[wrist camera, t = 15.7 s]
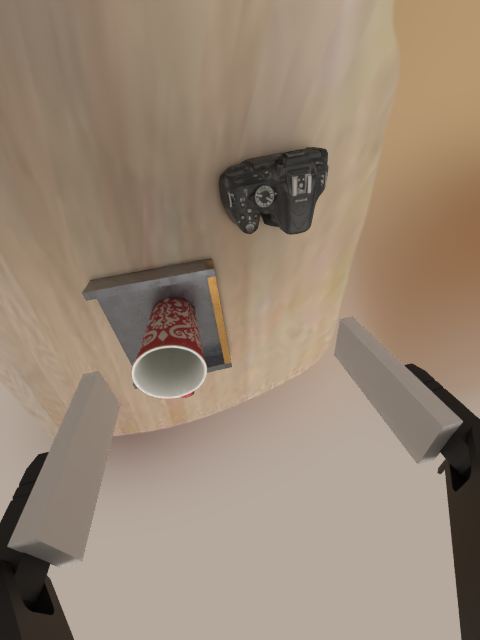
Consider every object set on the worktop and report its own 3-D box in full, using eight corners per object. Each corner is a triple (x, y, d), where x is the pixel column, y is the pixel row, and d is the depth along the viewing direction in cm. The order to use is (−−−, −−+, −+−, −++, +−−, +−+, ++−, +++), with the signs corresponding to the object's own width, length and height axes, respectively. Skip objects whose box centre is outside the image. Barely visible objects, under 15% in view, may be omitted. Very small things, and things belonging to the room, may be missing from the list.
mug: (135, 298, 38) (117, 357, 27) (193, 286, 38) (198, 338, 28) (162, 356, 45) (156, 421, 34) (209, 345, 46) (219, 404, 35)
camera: (244, 243, 37) (261, 268, 29) (206, 180, 32) (214, 189, 24) (321, 191, 35) (362, 202, 27) (295, 113, 30) (338, 98, 22)
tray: (90, 280, 36) (81, 292, 33) (211, 258, 38) (214, 268, 34) (138, 372, 47) (135, 388, 44) (228, 352, 49) (232, 366, 46)
